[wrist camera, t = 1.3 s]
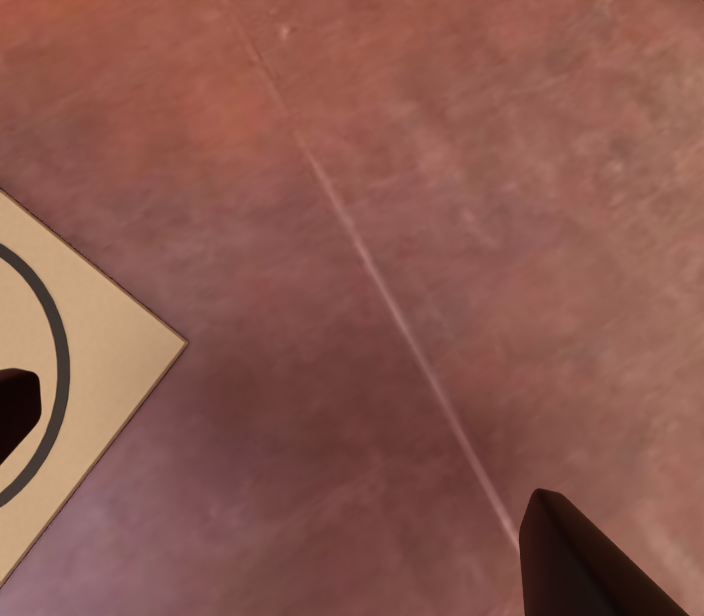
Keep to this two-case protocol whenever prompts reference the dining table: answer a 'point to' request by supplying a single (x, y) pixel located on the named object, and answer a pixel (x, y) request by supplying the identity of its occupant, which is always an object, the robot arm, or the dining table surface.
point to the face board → (66, 370)
